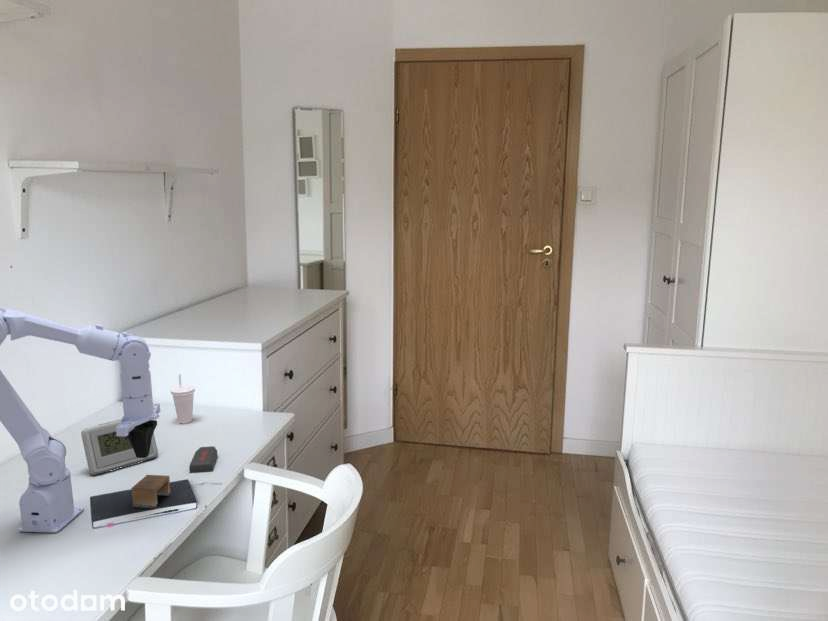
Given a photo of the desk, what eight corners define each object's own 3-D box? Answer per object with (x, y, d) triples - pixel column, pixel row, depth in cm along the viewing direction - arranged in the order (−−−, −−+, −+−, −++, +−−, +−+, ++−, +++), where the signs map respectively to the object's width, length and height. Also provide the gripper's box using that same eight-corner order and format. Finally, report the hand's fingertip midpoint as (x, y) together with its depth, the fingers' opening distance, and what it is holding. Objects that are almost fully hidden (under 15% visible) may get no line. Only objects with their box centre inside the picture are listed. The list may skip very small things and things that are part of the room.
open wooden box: (154, 489, 135) (169, 475, 141) (131, 488, 135) (147, 474, 142) (156, 508, 136) (170, 494, 142) (133, 507, 136) (148, 493, 142)
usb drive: (189, 475, 153) (188, 463, 152) (198, 454, 164) (197, 444, 164) (212, 473, 153) (211, 462, 153) (219, 453, 165) (218, 442, 164)
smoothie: (173, 419, 188) (170, 372, 186) (197, 416, 190) (193, 370, 188) (172, 426, 182) (168, 378, 180) (197, 424, 184) (193, 376, 182)
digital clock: (87, 478, 150) (82, 434, 148) (83, 465, 158) (78, 423, 156) (161, 462, 159) (158, 420, 157) (154, 450, 166) (150, 410, 164)
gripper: (138, 406, 127) (143, 471, 130) (171, 384, 142) (176, 443, 144) (103, 405, 128) (109, 470, 131) (140, 383, 142) (145, 442, 145)
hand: (142, 456), depth 137 cm, fingers closed
